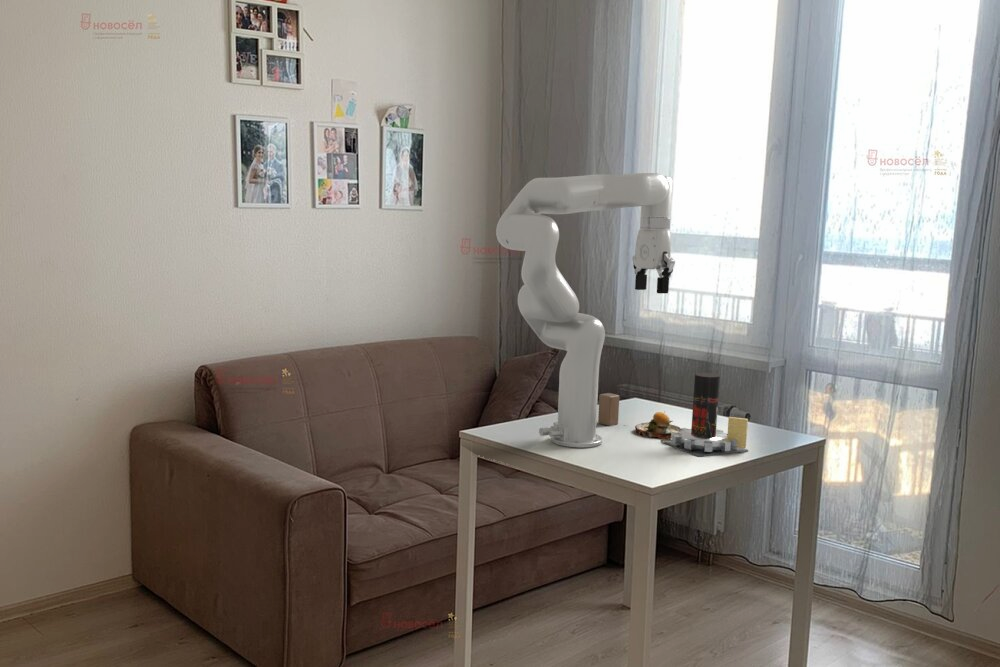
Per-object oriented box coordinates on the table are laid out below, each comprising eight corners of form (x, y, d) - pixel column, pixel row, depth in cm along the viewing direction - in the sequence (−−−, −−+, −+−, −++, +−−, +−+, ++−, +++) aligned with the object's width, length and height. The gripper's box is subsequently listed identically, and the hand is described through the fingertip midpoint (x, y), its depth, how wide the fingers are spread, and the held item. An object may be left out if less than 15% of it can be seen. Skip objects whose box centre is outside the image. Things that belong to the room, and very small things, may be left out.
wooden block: (618, 424, 247) (620, 395, 246) (608, 426, 244) (610, 396, 243) (607, 421, 250) (608, 392, 249) (597, 423, 247) (598, 394, 246)
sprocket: (664, 446, 222) (666, 416, 221) (678, 432, 236) (680, 404, 235) (740, 456, 215) (742, 426, 214) (750, 441, 230) (752, 413, 229)
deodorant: (689, 431, 229) (693, 372, 227) (713, 432, 229) (717, 373, 227) (692, 437, 223) (696, 376, 221) (717, 438, 223) (722, 377, 221)
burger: (674, 429, 245) (676, 401, 244) (686, 440, 233) (688, 411, 232) (630, 428, 244) (631, 400, 243) (640, 439, 232) (641, 410, 231)
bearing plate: (695, 457, 216) (695, 454, 216) (657, 441, 229) (658, 439, 229) (748, 451, 223) (748, 449, 223) (709, 436, 236) (709, 434, 236)
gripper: (623, 223, 241) (620, 288, 244) (662, 225, 226) (658, 295, 228) (647, 223, 244) (644, 288, 247) (687, 226, 229) (683, 294, 231)
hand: (651, 291), depth 237 cm, fingers open, 9 cm apart
